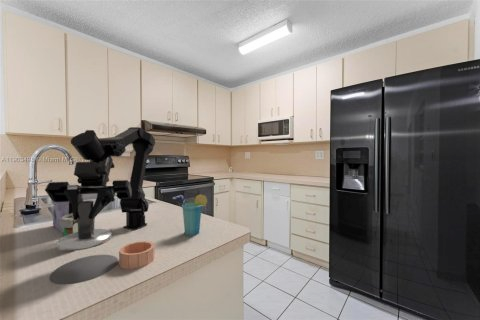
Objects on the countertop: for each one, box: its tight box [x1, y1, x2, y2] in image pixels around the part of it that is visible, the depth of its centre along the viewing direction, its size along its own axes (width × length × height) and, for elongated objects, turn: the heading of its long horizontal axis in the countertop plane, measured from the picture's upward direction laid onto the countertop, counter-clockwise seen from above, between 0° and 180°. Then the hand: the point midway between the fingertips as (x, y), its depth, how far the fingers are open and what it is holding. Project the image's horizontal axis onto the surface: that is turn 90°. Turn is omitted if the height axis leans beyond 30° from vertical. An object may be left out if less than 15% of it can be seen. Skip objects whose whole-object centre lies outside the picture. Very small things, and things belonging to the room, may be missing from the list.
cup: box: [171, 194, 208, 236], centre depth 79 cm, size 14×8×15 cm, turn 136°
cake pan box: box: [52, 182, 84, 233], centre depth 82 cm, size 19×5×18 cm, turn 54°
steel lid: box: [56, 200, 112, 252], centre depth 54 cm, size 11×11×10 cm
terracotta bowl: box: [118, 240, 156, 270], centre depth 58 cm, size 8×8×4 cm
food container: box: [59, 213, 96, 237], centre depth 68 cm, size 12×6×10 cm, turn 5°
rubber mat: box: [48, 254, 119, 285], centre depth 54 cm, size 14×14×1 cm
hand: (83, 218), depth 52 cm, fingers closed on steel lid, 3 cm apart
